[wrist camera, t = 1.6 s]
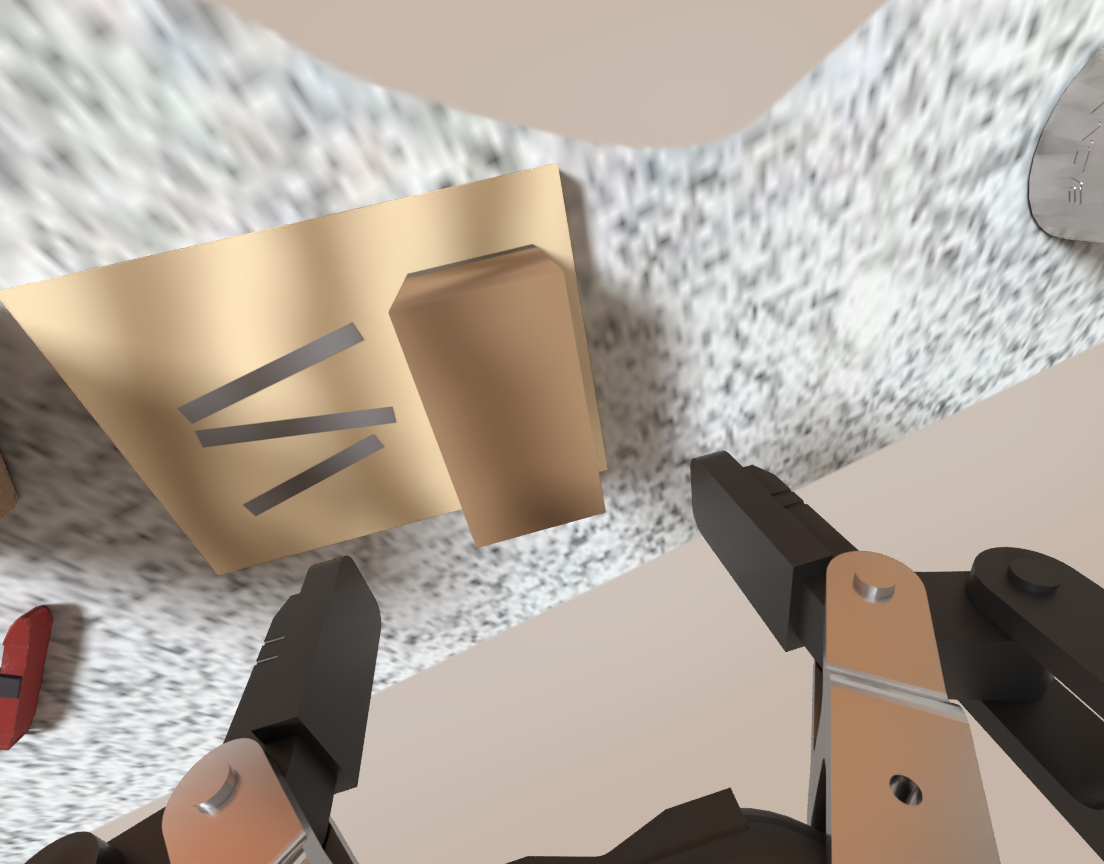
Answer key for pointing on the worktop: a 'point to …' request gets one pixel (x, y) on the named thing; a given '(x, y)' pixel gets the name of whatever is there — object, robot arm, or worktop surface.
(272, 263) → the pine board
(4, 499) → the wooden block
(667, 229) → the worktop surface
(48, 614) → the utility knife
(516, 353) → the block
